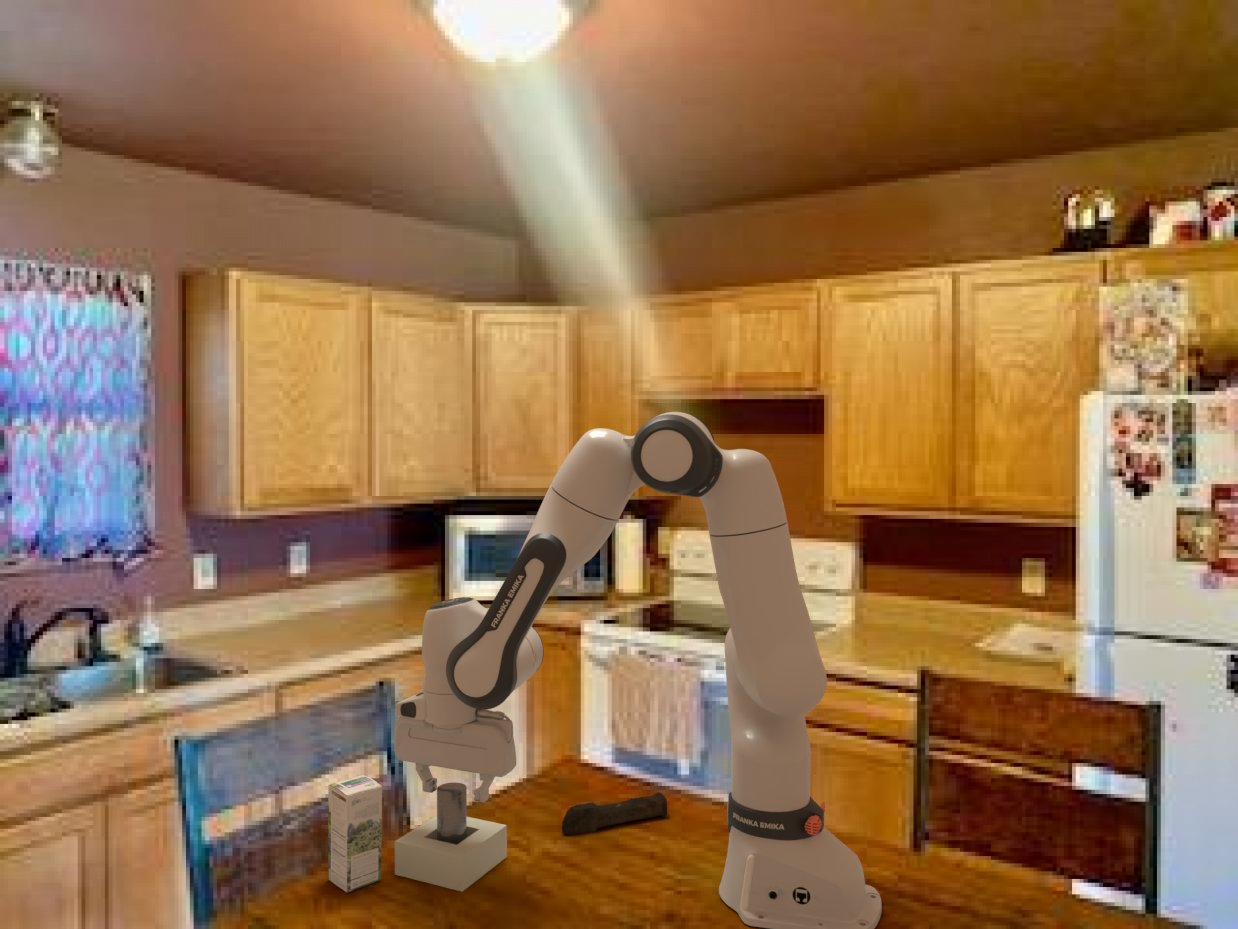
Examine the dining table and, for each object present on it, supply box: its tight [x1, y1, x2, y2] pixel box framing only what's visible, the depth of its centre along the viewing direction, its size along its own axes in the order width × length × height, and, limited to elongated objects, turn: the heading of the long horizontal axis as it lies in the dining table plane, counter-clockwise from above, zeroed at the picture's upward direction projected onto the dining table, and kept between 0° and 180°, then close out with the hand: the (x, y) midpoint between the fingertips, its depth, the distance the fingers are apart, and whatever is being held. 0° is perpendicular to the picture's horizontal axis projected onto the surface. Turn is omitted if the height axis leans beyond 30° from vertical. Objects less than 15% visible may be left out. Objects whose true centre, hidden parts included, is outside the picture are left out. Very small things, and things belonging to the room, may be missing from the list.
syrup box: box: [327, 774, 383, 894], centre depth 135 cm, size 6×6×14 cm
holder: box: [394, 814, 508, 893], centre depth 140 cm, size 12×12×5 cm
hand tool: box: [561, 792, 668, 835], centre depth 155 cm, size 19×4×5 cm, turn 114°
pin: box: [436, 782, 468, 845], centre depth 140 cm, size 4×4×12 cm
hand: (455, 795), depth 140 cm, fingers open, 8 cm apart
